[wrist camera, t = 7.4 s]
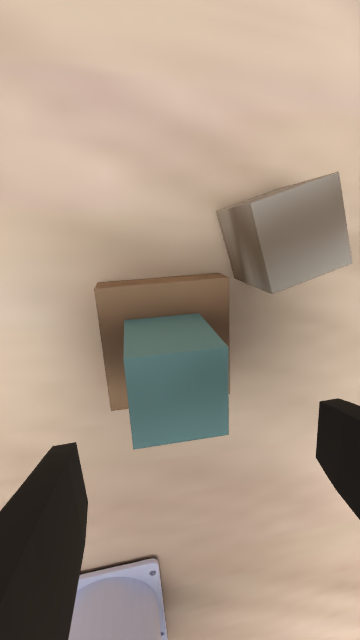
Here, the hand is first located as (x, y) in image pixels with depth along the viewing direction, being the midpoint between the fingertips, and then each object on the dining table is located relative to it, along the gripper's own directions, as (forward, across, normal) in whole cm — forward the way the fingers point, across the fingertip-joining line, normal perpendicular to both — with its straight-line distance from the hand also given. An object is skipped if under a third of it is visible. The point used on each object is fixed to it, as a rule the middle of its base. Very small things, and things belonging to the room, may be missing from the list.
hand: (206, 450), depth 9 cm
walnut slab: (+11, 0, 0) cm, 11 cm away
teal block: (+8, 0, 0) cm, 8 cm away
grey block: (+10, -6, -6) cm, 13 cm away
